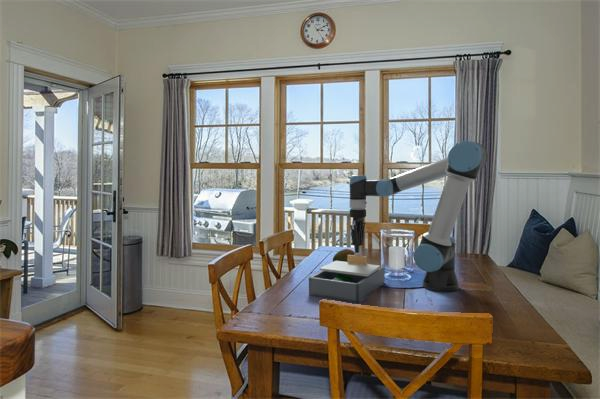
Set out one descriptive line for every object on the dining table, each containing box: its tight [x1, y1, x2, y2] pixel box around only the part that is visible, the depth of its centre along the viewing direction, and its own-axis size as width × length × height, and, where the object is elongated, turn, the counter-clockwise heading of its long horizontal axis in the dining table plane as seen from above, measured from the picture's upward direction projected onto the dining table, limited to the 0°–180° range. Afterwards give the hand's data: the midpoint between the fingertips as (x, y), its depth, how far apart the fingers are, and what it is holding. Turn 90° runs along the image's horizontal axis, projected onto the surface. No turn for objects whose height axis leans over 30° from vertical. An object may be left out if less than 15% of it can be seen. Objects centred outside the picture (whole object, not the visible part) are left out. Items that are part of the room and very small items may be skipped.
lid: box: [319, 255, 382, 276], centre depth 174 cm, size 22×17×4 cm
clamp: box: [332, 274, 352, 283], centre depth 166 cm, size 12×6×9 cm, turn 150°
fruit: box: [332, 248, 355, 262], centre depth 211 cm, size 12×13×10 cm
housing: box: [308, 266, 386, 304], centre depth 173 cm, size 22×33×8 cm, turn 150°
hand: (357, 259), depth 182 cm, fingers closed
